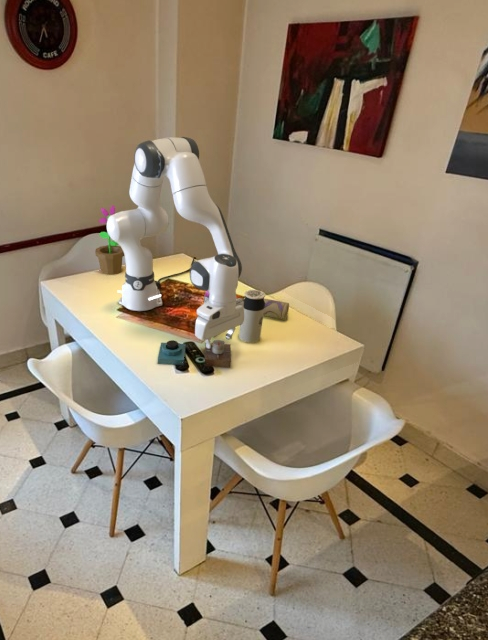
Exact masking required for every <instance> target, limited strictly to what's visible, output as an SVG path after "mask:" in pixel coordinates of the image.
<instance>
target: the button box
mask: <svg viewBox="0 0 488 640" xmlns="http://www.w3.org/2000/svg"><path fill="white" fill-rule="evenodd" d="M167 342H168V341H166V342H160V346H159V351H158V355H157V364H159V365H174V366H184V365H185V359H186V349H187V343H181V342H178V349H175V350H169V349H167ZM184 357H185V358H184ZM180 362H184V363H180Z"/></svg>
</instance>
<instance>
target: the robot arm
mask: <svg viewBox="0 0 488 640" xmlns="http://www.w3.org/2000/svg"><path fill="white" fill-rule="evenodd" d="M133 156H134V157H133V160H134V164H133V169H132V172H131V180H130V184H129V191H128V193H129V197H130V200H131V201H132V203H134V204H135V205H136V206H137V207H136V208H134V209H127V210H122V211H121V210H120V211H118V212H115V213H114V214H113V215H111V216H110V217H109V218H108V221H107V222H106V233H108V235H109V236H110V240H111V241H114V242H116V243H118V244H119V245H118V246H120V247H121V248H122V250H123V252H124V263H125V271H124V279H125V282H124V283H123V284H122V285H121V290H117V293H120V294H121V297H120V298H119V300H118V304H119V305H122V306H123V307H124V308H126V309H128V310H130V311H137V312H143V311H145V312H146V311H149V310H153V309H155V308H157V307H158V308H159V307H161V306H163V300H162V294H161V291H160V289H161V288H162V285H161V281H162V280H164V279H169V278H171V277H176V276H180V275H184V274H185V273H188V272H189V280H190V283H191V284H192V285H193V287H195V288H196V289H198V290H201V291H203V292H206V291H208V292H209V293H210V295H209V299H208V300H207V301H206V302H205V303H204V302H203V304H201V305H200V306H199V307H198V308H197V309H196V315H197V317H196V320H195V325H194V335H195V338H197V339H198V340H200V341H202V342H205V343H206V347H207V348H212V347H213V346H212V345H213V341H211V340H212V338H215V337H216V336H218V335H221V334H224V333H225V339H226V340H228V341H229V340H232V339H233V334H234V333H235V331H236V328H237V327H240V325H242V324H243V322H244V307H243V306H244V302H243V300H241V299H238V300H236V298H238V297H237V289H238V286H239V279H240V277H241V275H242V271H243V264H242V262H241V259H240V257H239V255H238V253H237V252H236V249H235V247H234V244H233V240H232V237H231V234H230V232H229V229H228V226H227V223H226V219H225V217H224V215H223V212H222V210H221V208H220V206H218V204H216V203H215V202H214V200H213V199H212V197H211V196H210V195H211V194H210V193H209V190H208V186H207V181H206V177H205V174H204V171H203V167H202V165H201V162H200V150H199V146H198V144H197V142H196V141H195V140H194V139H193V138H192V137H191V138H190V137H186V136H180V137H173V136H171V137H170V136H169V137H164V138H158V139H152V140H149V139H147V140H145V141H142V142H140V143H139V144H138V145H137V146H136V148H135V151H134V155H133ZM165 177H166V178H167V179H168V181H169V183H170V184H169V185H170V189H171V194H172V199H173V203H174V207H175V210H176V212H177V213H178V214H179V215H180V216H181V217H182V219H183V218H184V219H185V220H187V221H189V222H191V223H192V222H193V223H197V224H199V225H202V226H204V227H205V228H207V230H208V231H209V232H210V234H211V237H212V240H213V242H214V246H215V249H216V251H217V254H216V255H214V256H211V257H206V258H201V259H198V260H197V257H196V256H193V258H192V262H191V263H190V264H191V266H190V268H188V269H187V270H183V271H181V272H178V273H174V274H169V275H166V276H162V277H160V278H159V279H158V280H155V272H154V256H153V253H152V251H151V249H149V248H147V247H145V246H143V245H142V243H141V241H142V239H146V238H152V237H156V236H158V235H160V234H163V233H165V232H166V231H167V230H168V227H169V224H170V223H169V222H170V218H169V215H168V213H167V211H166V209H164V208H163V207H162V206H161V204H160V203H161V202H160V198H161V192H162V187H163V182H164V178H165ZM195 260H196V261H195Z"/></svg>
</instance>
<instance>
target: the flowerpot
mask: <svg viewBox="0 0 488 640" xmlns="http://www.w3.org/2000/svg"><path fill="white" fill-rule="evenodd" d="M100 211H101V213H102V215H103V216H104V217H101V218H100V219H98V222H99V224H107V221H108V218H109V217H110V216H111V215H113V214H116V207H115V205H114V204H113V205H111V207H110V209H109V211H108V210H107V209H106V208H104V207H101V208H100ZM98 235H99V236H100V238H102V239H104V240H106V239H107V241H108V244H107V245H101V246H98V247H96V248H95V250H94V253H95V257H96V258H98V262H99V267H100V272H101V273H102V274H105V275H117V274H119V273H122V269H123V257H125V255H124V252H123V250H122V248H121V246H120V245H119V244H118V243H117V242H115V241H114V240H111V238H110V236H109V235H108V232H107V231H101V232H100V233H98Z"/></svg>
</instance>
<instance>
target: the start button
mask: <svg viewBox="0 0 488 640" xmlns="http://www.w3.org/2000/svg"><path fill="white" fill-rule="evenodd" d="M166 342H167V349H169V350H175V349H178V343H179V342H178V341H177V340H173V339H172V340H168V341H166Z"/></svg>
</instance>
